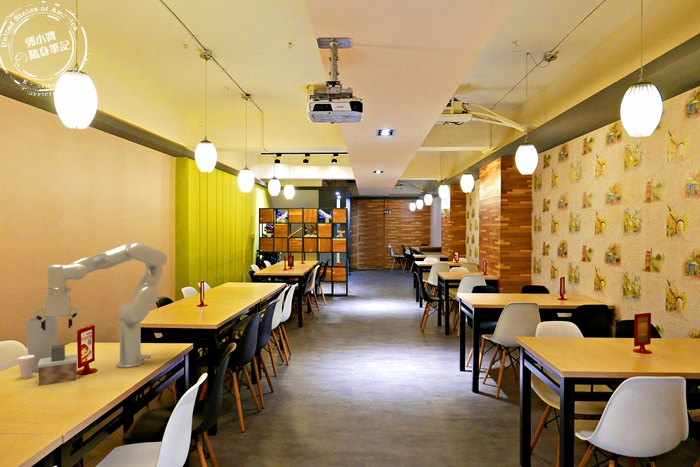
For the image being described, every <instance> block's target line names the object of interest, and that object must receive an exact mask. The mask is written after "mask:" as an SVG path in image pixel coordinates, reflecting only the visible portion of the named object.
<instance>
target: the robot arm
mask: <svg viewBox="0 0 700 467" xmlns="http://www.w3.org/2000/svg"><path fill="white" fill-rule="evenodd" d="M132 260H135V261H138V262H141V263H144V265H145V270H144V272H143V273H144V274H143V275H142V277H141V279H140V280H139V281H138V283H137V284H136V285H135V287H134V289H133V291H132V293H131V295H132V298H133V301H128V302H124V303H123V304H121V305H120V307H119V309H118V311H117V317H118V318H117V319H118V326H119V361H118V362H117V363H116V368H119V369H120V368H121V369H123V368H126V369H127V368H128V369H129V368H136V367H138V366H141V365H143V364H144V363H145V360H146V359H147V360H149V359H151V358H152V356H151V354H148V353H147V354H144V355H143V354H142V350H141V347H142V345H141V337H142V336H141V332H142V331H141V322H143V321H144V320H145V319H146V318H147V316H148V315H149V314H150V312H151V309H153V307H154V305H155V304H156V302H157V301H158V297H159V291H158V289H157V287H158V284H159V283H160V282H161V279H162V277H163V267H164V266H165V264H166V263H167V261H168V256H167V255H166V253H165V252H164V251H162V250H159V249H157V248H154V247H151V246H148V245H146V244H143V243H141V242H128V243H125V244H121V245H119V246H116V247H114V248H111V249H108V250H106V251H102V252H100V253H99V252H98V253H97V254H94V255H91V256H87V257H85V258H81V259H79V260H76V261H73V262H71V263H69V264H66V265H65V264H50V265H48V266H47V276H46V278H47V282H46V283H47V285H46V286H47V287H46V288H47V294H45V296H44V301H43V307H42V308H40V309H37V310H35V311H34V312H33V315H34V316H35V317H36V318H37V319H38V320H40V321H41V329H43V331H44V330H45V328H46V321H45V319H46V318H47V317H57V318H59V317H65V316H66V317H67V318H68V329H71V327H72V326H73V319H74V318H75V317H76V316H78V313H79V312H80V308H78V307H75V306H72V305H71V296H70V293H68V292H71V291H72V289H71V288H69V287H68V280H73V281H74V280H75V281H78V280H82V279H84V278H86V277H87V275H88V274H90V273H92V272H95V271H100V270H107V269H111V268H114V267H116V266H119V265H122V264H124V263H127V262H129V261H132ZM71 310H73V311H74V313H73V314H71ZM42 312H43V313H42ZM41 313H42V314H43V316H44V317H43V318H42V316H40V314H41Z"/></svg>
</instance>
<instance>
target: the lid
mask: <svg viewBox="0 0 700 467" xmlns="http://www.w3.org/2000/svg"><path fill="white" fill-rule="evenodd" d="M70 363H77V364H78V353H77V354H75V353H74V354H67V355H66V344H65V343H64V344H57V345H54V346H52V348H51V358H43V359H40V361H39V363H38V368H41V367H48V366H55V365H62V364H70Z"/></svg>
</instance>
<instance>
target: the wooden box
mask: <svg viewBox="0 0 700 467" xmlns="http://www.w3.org/2000/svg"><path fill="white" fill-rule="evenodd" d="M77 376H78V362H77V363H70V364H62V365H55V366H48V367H41V368H38V386H46V385H52V384H59V383H65V382H71V381H77V378H78V377H77Z"/></svg>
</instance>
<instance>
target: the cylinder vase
mask: <svg viewBox="0 0 700 467" xmlns="http://www.w3.org/2000/svg"><path fill="white" fill-rule="evenodd" d="M41 317H42V318H43V317H44V315H42V316H41ZM45 321H46V328H45V330H44V331H43V329H41V321H40V320H38V319H37V318H36V316H35V317H31V318H27V319H26V320H25V322H26V324H25V325H26V326H25V328H26V329H25V330H26V334H25V335H26V336H25V337H26V348H27V347H28V355H34V356H35V358H34V362H33V370H32V373H37V372H38V363H39V361H40V359H43V358H51V348H52V346H54V345H58V317H47V318H46V319H45Z"/></svg>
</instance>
